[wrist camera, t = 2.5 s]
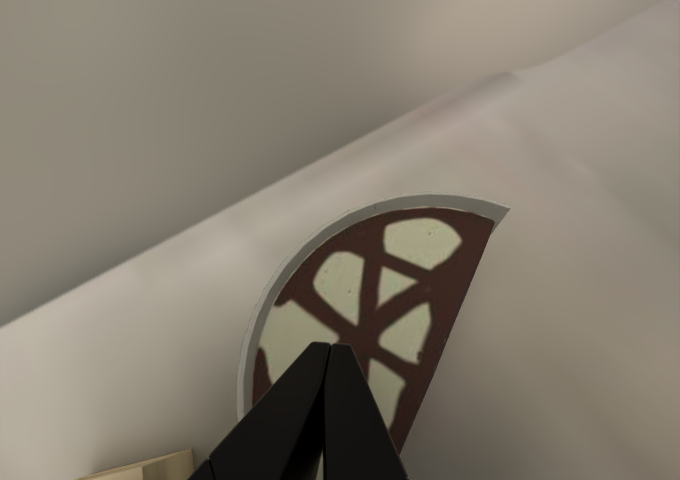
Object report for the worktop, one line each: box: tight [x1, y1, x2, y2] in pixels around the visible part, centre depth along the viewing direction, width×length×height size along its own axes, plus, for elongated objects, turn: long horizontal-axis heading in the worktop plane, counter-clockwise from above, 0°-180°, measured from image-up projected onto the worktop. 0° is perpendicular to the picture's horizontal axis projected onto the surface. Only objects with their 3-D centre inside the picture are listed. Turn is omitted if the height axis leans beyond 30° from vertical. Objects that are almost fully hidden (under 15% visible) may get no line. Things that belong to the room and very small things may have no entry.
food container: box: [237, 192, 511, 480], centre depth 17 cm, size 12×6×10 cm, turn 153°
